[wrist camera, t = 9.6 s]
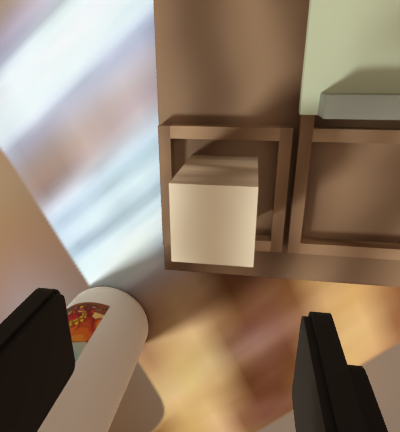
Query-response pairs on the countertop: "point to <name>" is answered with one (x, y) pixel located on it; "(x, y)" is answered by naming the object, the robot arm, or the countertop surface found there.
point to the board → (276, 142)
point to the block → (214, 210)
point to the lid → (352, 60)
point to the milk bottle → (98, 359)
